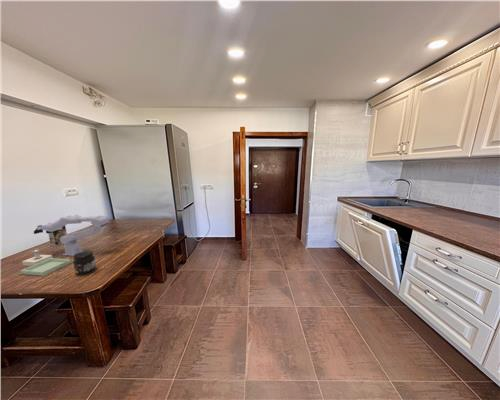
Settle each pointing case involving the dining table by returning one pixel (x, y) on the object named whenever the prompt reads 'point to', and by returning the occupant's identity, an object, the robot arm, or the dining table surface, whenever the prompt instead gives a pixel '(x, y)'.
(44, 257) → the socket block
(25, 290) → the dining table surface
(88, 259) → the supplement container
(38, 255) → the steel pin
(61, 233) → the coffee box
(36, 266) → the tray
